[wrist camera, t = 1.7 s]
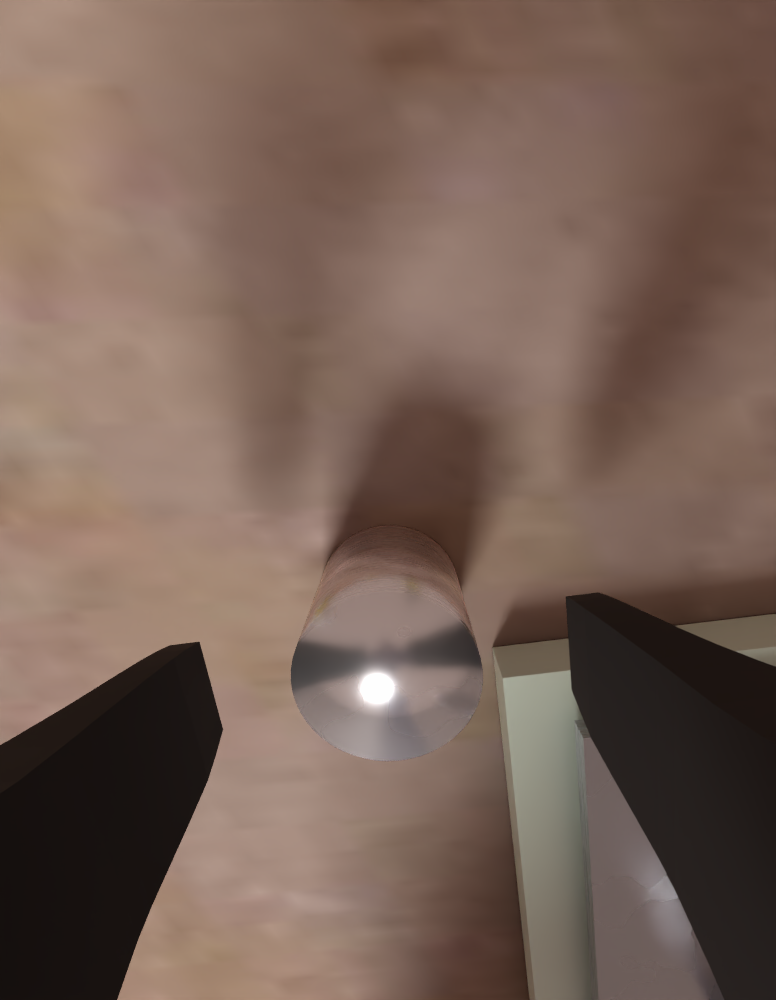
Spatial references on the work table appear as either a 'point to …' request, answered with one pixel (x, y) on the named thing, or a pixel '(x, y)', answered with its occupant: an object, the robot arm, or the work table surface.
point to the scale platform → (631, 900)
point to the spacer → (387, 648)
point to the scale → (564, 796)
